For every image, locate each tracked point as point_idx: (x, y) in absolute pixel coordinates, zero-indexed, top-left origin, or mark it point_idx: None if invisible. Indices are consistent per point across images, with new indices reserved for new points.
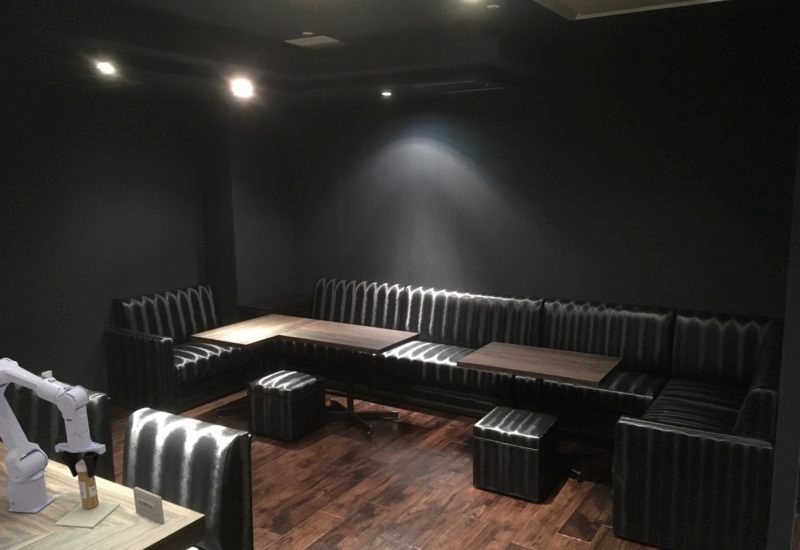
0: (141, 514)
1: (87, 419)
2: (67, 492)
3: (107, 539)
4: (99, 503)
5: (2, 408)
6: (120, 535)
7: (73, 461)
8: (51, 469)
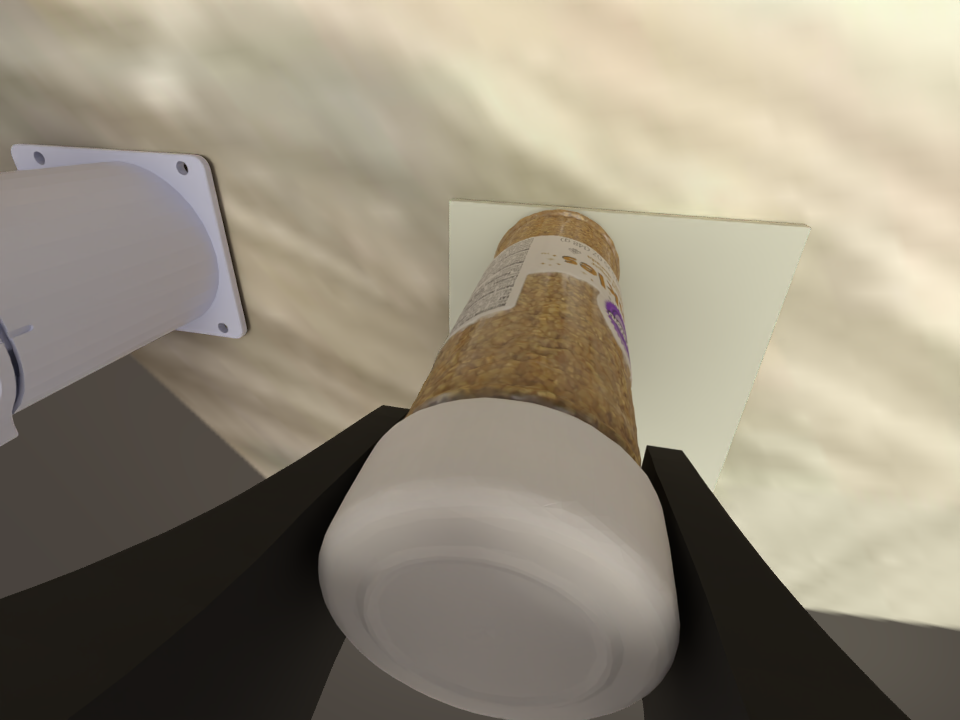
0: None
1: None
2: (196, 22)
3: (849, 588)
4: (607, 224)
5: None
6: (929, 568)
7: (283, 699)
8: None
